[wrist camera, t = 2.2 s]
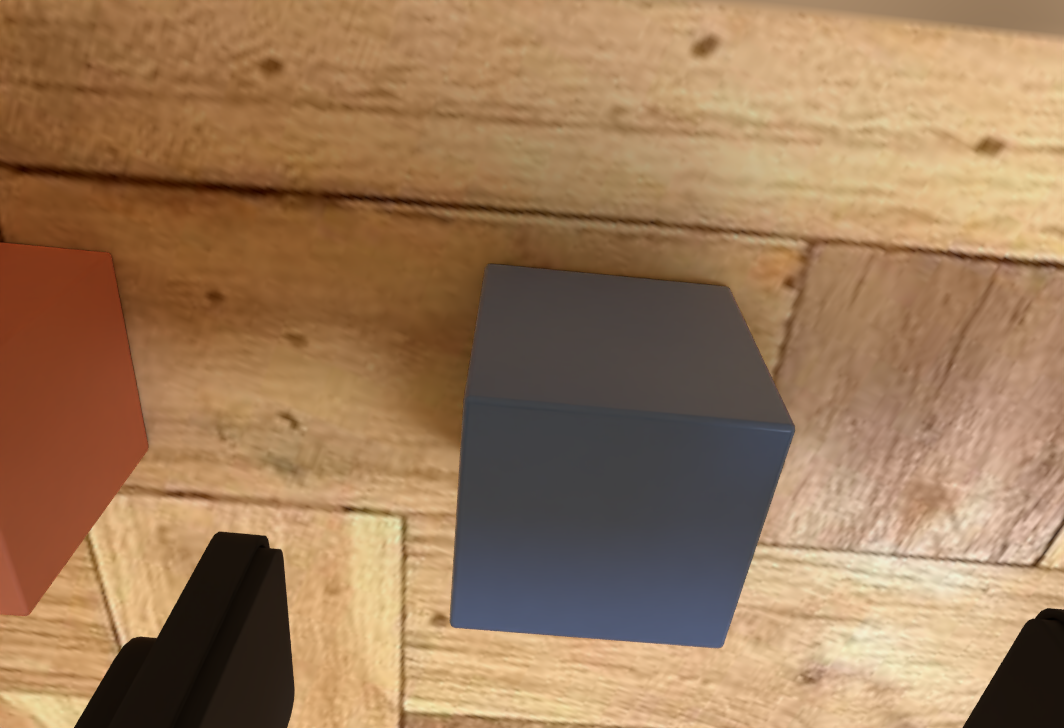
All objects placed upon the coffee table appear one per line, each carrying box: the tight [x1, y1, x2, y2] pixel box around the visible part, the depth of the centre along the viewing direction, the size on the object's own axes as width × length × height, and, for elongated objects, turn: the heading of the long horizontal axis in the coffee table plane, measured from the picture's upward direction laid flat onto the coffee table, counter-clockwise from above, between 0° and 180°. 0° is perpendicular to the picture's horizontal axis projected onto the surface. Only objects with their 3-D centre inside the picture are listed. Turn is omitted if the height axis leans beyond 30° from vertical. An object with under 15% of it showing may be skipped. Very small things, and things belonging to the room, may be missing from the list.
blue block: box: [450, 264, 795, 648], centre depth 13 cm, size 4×4×4 cm
